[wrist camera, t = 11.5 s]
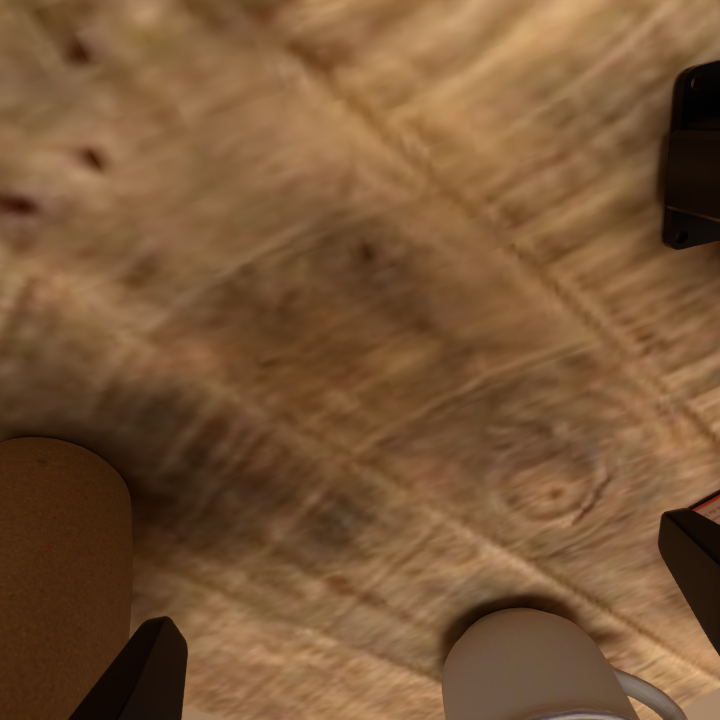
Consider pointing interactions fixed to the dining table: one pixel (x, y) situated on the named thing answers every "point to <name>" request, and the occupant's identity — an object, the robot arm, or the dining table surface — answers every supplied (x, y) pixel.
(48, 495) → the plant pot
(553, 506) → the dining table surface
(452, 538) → the dining table surface
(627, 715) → the teacup
